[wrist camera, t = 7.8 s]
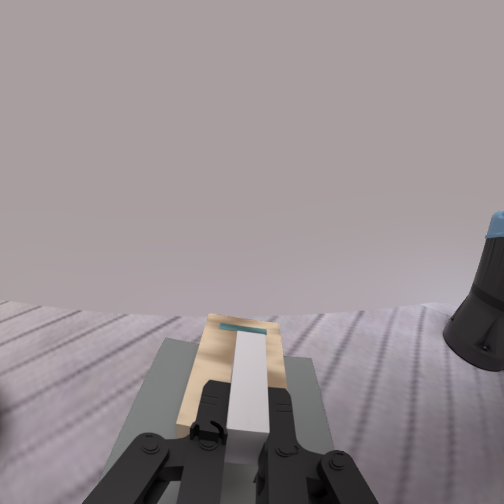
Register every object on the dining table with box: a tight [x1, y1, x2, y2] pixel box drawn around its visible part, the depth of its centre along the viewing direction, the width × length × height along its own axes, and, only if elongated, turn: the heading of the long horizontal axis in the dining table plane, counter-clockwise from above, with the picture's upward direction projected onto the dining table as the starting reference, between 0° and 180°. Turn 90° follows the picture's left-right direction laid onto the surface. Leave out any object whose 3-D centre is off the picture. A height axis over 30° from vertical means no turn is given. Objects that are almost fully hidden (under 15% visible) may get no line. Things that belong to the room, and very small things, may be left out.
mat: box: [99, 338, 334, 504], centre depth 18 cm, size 16×20×1 cm
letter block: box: [176, 313, 288, 465], centre depth 21 cm, size 7×4×14 cm
